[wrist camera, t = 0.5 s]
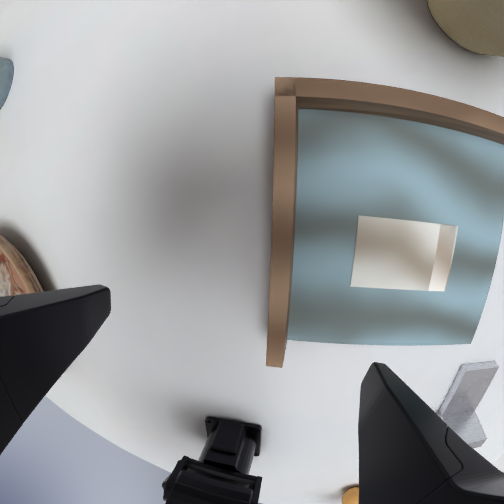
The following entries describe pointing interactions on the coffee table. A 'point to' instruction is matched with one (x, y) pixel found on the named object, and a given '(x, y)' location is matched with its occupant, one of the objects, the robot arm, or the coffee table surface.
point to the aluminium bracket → (467, 401)
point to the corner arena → (381, 215)
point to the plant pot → (472, 23)
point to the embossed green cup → (5, 78)
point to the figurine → (351, 496)
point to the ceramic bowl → (15, 272)
